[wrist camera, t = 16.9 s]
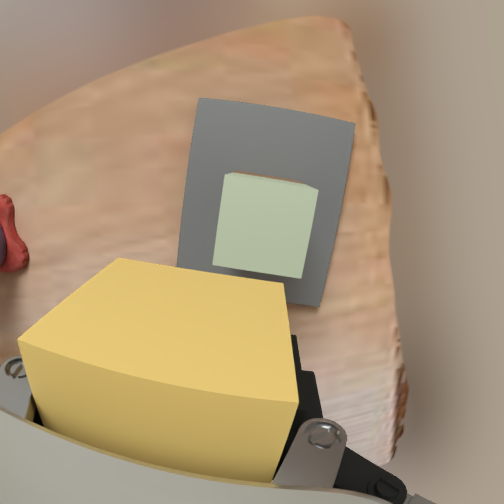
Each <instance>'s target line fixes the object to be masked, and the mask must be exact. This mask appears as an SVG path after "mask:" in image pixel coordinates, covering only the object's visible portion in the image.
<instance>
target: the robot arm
mask: <svg viewBox="0 0 504 504" xmlns="http://www.w3.org/2000/svg"><path fill="white" fill-rule="evenodd" d="M291 343H292V350H293V358H294V366H295V374H296V382H297V390H298V398H299V404H298V407H297V410H296V413H295V416H294V419H293V422H292V425H291V428H290V431H289V434H288V437H287V440H286V443H285V446H284V449H283V451H282V454H281V457H280V460H279V463H278V465H277V468H276V471H275V473H274V476H273V479H272V480H273V482H272V483H261V482H252V481H243V480H235V479H227V478H220V477H214V476H207V475H202V474H196V473H191V472H186V471H181V470H176V469H171V468H167V467H163V466H158V465H154V464H150V463H146V462H142V461H139V460H135V459H131V458H128V457H125V456H121V455H118V454H115V453H111V452H108V451H105V450H102V449H99V448H96V447H93V446H90V445H88V444H85V443H82V442H79V441H77V440H74V439H72V438H69V437H66V436H64V435H61V434H59V433H56V432H54V431H52V430H49V429H47V428H45V427H44V425H43V422H42V420H41V417H40V414H39V412H38V409H37V406H36V403H35V400H34V397H33V394H32V391H31V388H30V385H29V381H28V378H27V375H26V371H25V368H24V364H23V360H22V356H14V357H11V358H9V359H7V360H6V361H5V362H4V363H3V364H2V366H1V368H0V504H436V503H434V502H431V501H429V500H427V499H425V498H423V497H421V496H419V495H418V494H415V495H414V496H411V495H409V494H408V493H407V490H406V486H405V485H404V483H403V482H402V481H401V480H400V479H399V478H397V477H396V476H394V475H392V474H391V473H389V472H387V471H385V470H384V469H382V468H380V467H379V466H377V465H375V464H373V463H372V462H370V461H368V460H367V459H365V458H364V457H362V456H360V455H359V454H357V453H355V452H354V451H352V450H351V449H349V448H348V447H346V442H347V435H346V432H345V430H344V429H343V428H342V427H341V426H340V425H339V424H337V423H336V422H334V421H332V420H329V419H324V418H323V415H322V410H321V404H320V399H319V394H318V389H317V384H316V379H315V375H314V372H313V371H303V370H301V363H300V357H299V350H298V344H297V338H296V335H291Z"/></svg>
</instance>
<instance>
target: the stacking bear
mask: <svg viewBox="0 0 504 504" xmlns="http://www.w3.org/2000/svg"><path fill="white" fill-rule="evenodd" d="M28 258H29V255H28V251H27V247H26V245H25V243H24V242H23V241H22V240H21V239H20V237H19V236H18V234H17V232H16V229H15V226H14V206H13V204H12V200H11V198H10V197H8V196H7V195H5V194H2V195H0V272H15V271H18V270H20V269H22V268H24V267H25V266H26V265H27V263H28Z"/></svg>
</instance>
